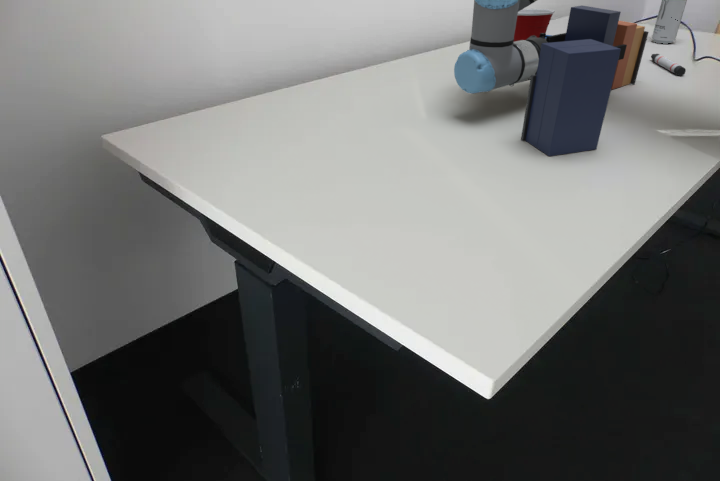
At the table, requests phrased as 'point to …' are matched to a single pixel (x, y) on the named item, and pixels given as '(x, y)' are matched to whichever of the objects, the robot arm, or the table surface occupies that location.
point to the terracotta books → (629, 52)
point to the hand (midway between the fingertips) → (594, 45)
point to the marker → (668, 64)
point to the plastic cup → (532, 23)
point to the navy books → (569, 96)
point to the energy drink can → (668, 21)
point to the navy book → (592, 24)
